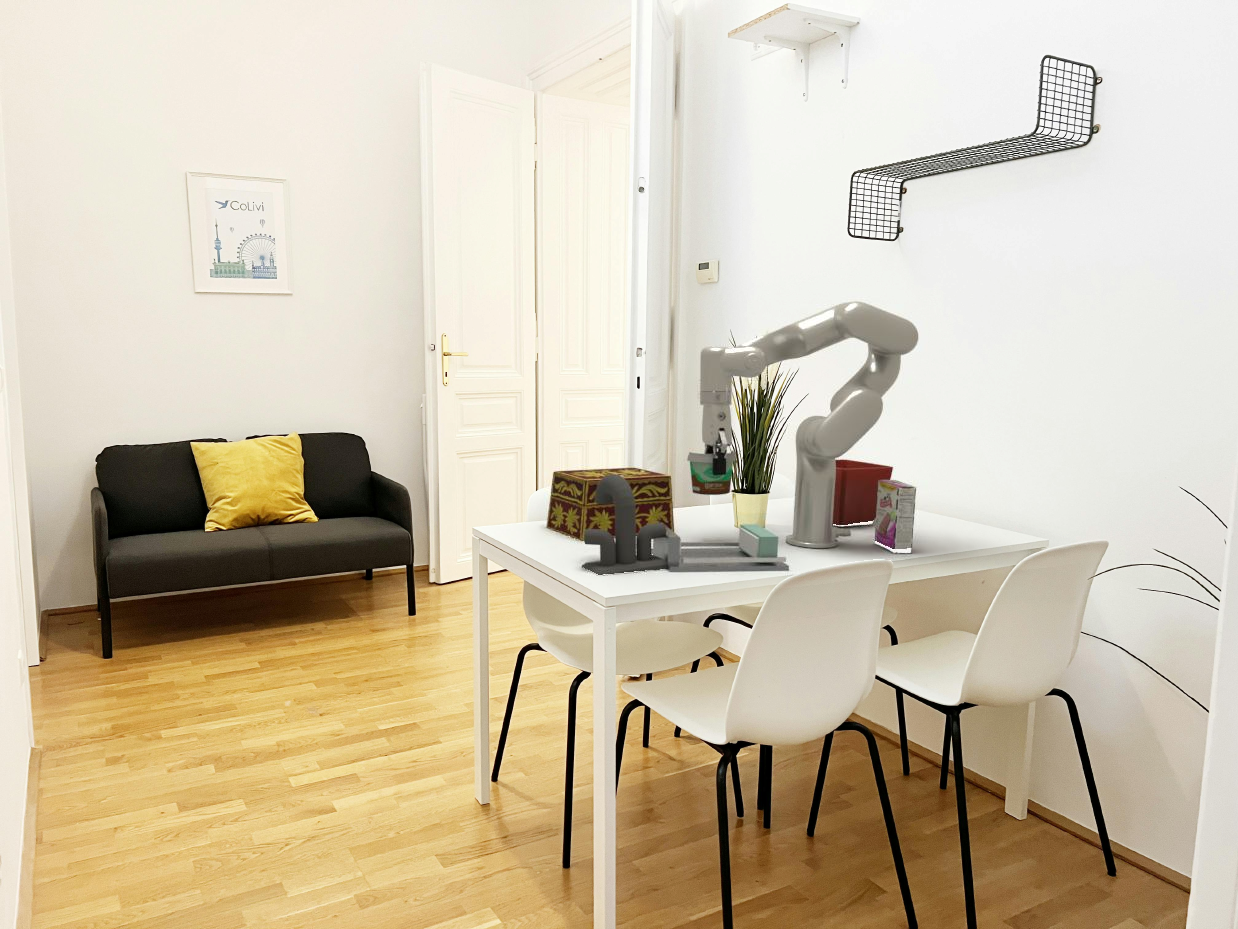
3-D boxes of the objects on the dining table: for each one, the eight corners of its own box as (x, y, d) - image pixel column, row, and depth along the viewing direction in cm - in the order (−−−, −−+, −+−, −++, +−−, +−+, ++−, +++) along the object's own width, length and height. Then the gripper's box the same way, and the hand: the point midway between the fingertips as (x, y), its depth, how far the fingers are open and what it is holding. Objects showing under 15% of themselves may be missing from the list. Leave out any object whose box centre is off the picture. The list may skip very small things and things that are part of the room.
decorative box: (635, 520, 252) (637, 466, 250) (674, 533, 236) (677, 475, 234) (545, 528, 237) (547, 470, 235) (581, 542, 222) (583, 480, 220)
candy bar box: (872, 544, 230) (877, 479, 228) (891, 544, 231) (896, 479, 229) (893, 554, 219) (897, 486, 217) (912, 554, 220) (917, 486, 218)
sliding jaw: (755, 548, 214) (756, 524, 213) (776, 562, 200) (778, 536, 200) (737, 548, 213) (738, 524, 212) (757, 562, 199) (758, 536, 199)
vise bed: (760, 552, 216) (762, 522, 215) (788, 570, 199) (790, 538, 198) (650, 553, 211) (651, 523, 210) (669, 571, 194) (671, 539, 193)
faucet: (636, 552, 211) (635, 466, 208) (672, 568, 197) (672, 476, 194) (564, 563, 202) (562, 473, 199) (597, 580, 188) (595, 484, 185)
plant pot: (841, 515, 271) (844, 458, 269) (890, 526, 255) (895, 466, 253) (792, 519, 262) (795, 460, 259) (840, 531, 245) (844, 469, 243)
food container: (695, 496, 219) (695, 455, 218) (686, 492, 225) (687, 452, 224) (743, 494, 222) (744, 453, 221) (733, 490, 228) (734, 450, 227)
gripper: (742, 400, 213) (741, 477, 215) (720, 396, 230) (719, 467, 232) (711, 401, 212) (710, 478, 214) (691, 397, 229) (690, 468, 231)
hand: (715, 472), depth 223 cm, fingers closed on food container, 6 cm apart
